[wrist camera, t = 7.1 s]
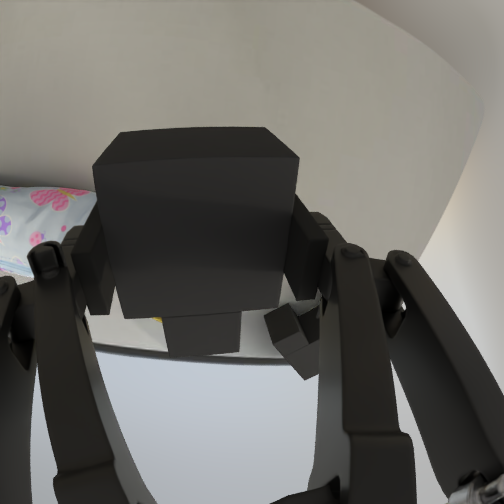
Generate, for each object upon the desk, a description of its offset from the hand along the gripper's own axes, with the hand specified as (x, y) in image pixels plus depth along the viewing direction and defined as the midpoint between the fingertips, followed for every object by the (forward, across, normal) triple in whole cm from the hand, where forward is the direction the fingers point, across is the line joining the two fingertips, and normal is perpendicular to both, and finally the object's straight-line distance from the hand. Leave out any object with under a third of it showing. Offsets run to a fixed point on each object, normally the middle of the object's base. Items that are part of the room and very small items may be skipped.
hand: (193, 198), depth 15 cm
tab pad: (0, 0, -1) cm, 1 cm away
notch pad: (+13, +17, -25) cm, 33 cm away
